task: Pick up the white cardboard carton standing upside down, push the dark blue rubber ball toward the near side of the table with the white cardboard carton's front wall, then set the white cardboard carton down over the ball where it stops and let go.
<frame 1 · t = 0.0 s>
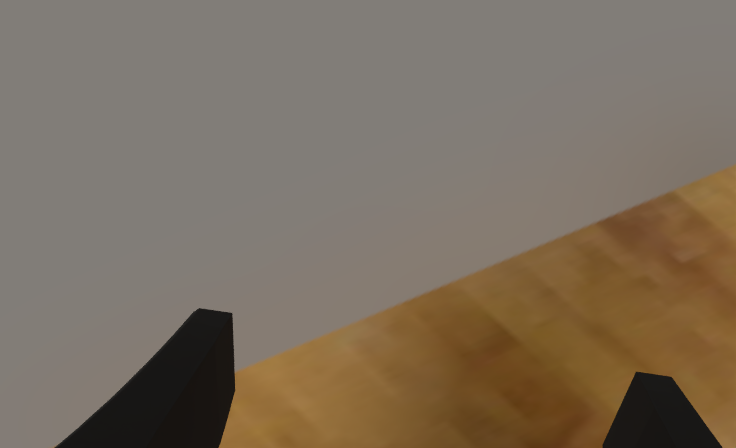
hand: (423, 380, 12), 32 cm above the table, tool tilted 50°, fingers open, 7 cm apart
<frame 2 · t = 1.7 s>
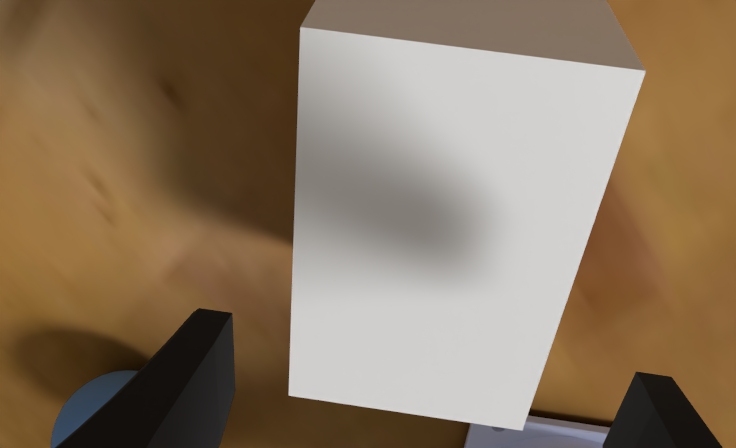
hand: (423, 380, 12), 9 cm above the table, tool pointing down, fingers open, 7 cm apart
ball: (123, 437, 26), on the table
white cardboard carton: (439, 138, 20), on the table
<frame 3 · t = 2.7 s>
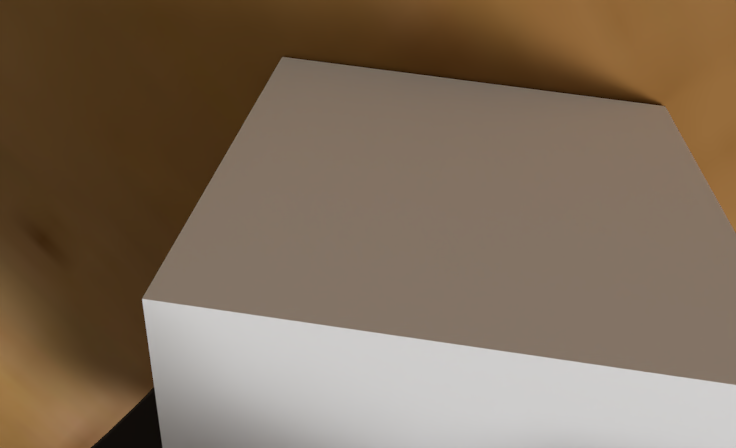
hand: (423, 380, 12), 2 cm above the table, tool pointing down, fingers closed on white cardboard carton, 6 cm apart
white cardboard carton: (428, 309, 14), on the table, touching gripper
when the fingers open (2 cm above the table, at t = 14.4 s): white cardboard carton stays where it is, on the table.
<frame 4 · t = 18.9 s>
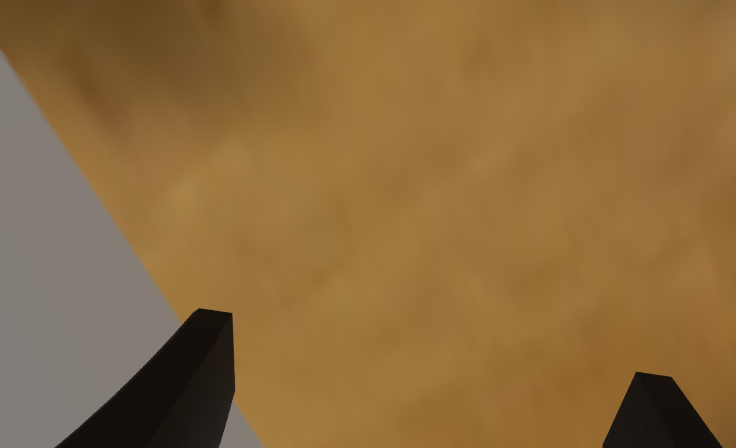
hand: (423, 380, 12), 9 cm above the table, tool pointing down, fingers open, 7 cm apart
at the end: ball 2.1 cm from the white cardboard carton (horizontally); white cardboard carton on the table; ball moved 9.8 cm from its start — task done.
